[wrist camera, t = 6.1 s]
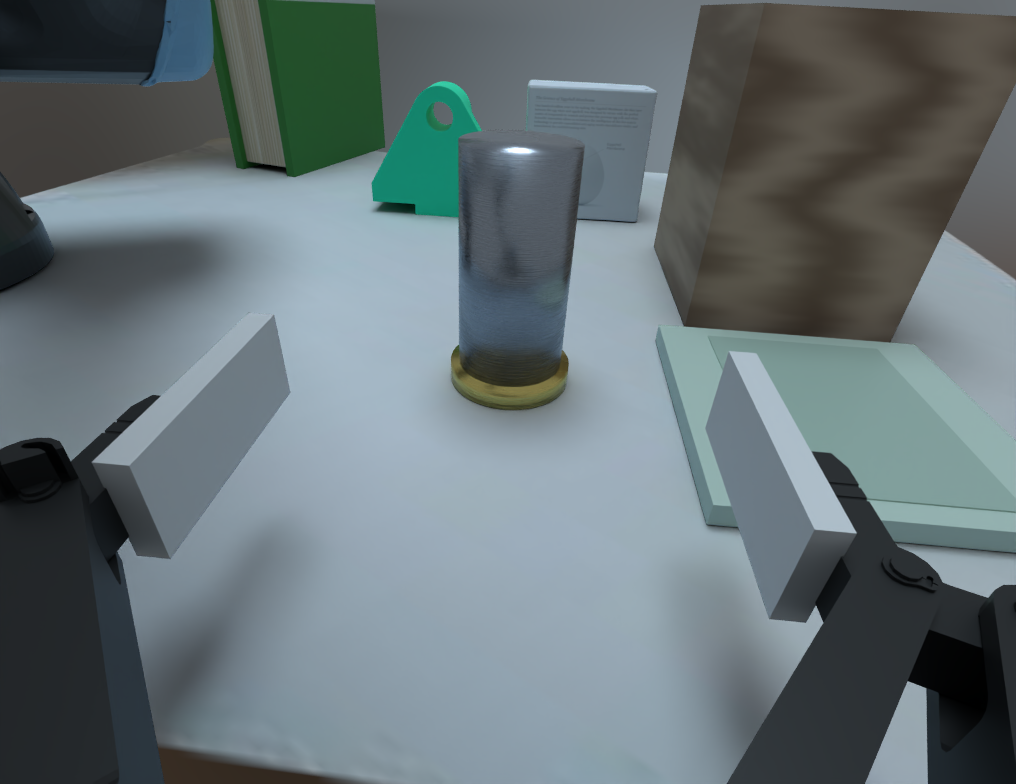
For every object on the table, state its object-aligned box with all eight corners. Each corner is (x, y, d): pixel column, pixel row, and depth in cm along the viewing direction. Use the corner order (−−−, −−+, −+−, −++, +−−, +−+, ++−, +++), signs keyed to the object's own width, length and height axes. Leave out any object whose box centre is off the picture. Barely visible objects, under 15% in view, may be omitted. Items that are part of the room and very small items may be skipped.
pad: (706, 524, 21) (714, 503, 20) (655, 340, 32) (659, 323, 32) (1103, 560, 20) (1123, 540, 20) (906, 360, 32) (915, 343, 31)
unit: (684, 326, 34) (764, 3, 25) (653, 246, 45) (701, 5, 36) (899, 343, 33) (1060, 18, 24) (812, 257, 45) (900, 16, 36)
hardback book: (294, 177, 58) (243, -140, 45) (236, 167, 60) (171, -138, 47) (385, 147, 72) (367, -102, 58) (335, 140, 74) (307, -102, 60)
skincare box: (628, 203, 56) (648, 82, 50) (637, 223, 50) (660, 91, 44) (522, 196, 56) (529, 75, 50) (520, 216, 51) (527, 83, 45)
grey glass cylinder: (442, 404, 26) (435, 152, 20) (460, 343, 31) (460, 124, 25) (566, 414, 26) (598, 162, 20) (566, 351, 31) (592, 132, 25)
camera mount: (514, 198, 56) (520, 80, 50) (509, 222, 50) (515, 90, 44) (394, 190, 56) (386, 72, 50) (374, 213, 50) (362, 81, 44)
